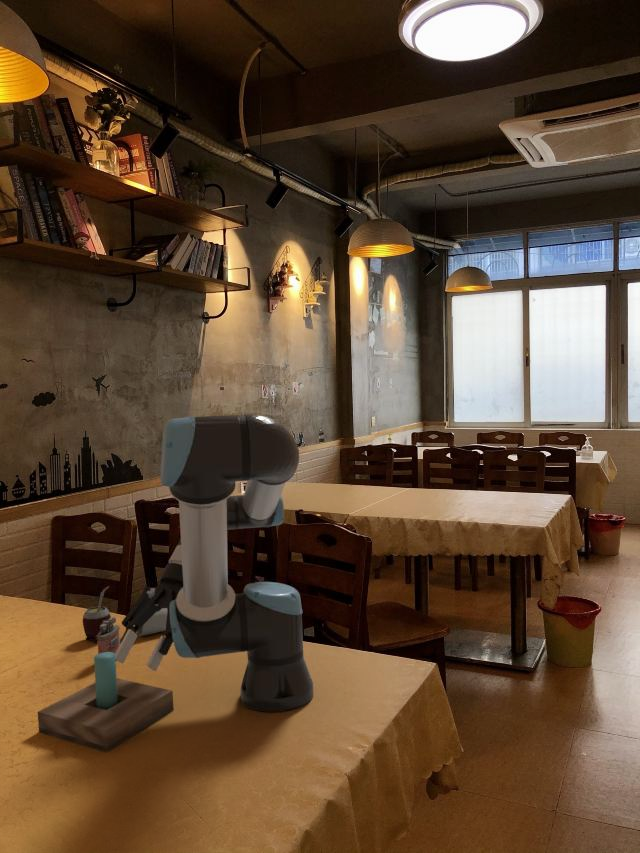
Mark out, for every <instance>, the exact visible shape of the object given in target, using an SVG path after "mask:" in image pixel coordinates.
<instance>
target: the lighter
mask: <svg viewBox="0 0 640 853" xmlns="http://www.w3.org/2000/svg"><path fill="white" fill-rule="evenodd" d="M116 618H117V617H116V616H111V618H110V619H108V621H103V623H102V625H100V630H101V632H99V633H98V634H97V639H98V643H97V651H98V653H97V654H100V653H104V652H113V653H116V651H117V650H118V648H119V646H120V628H121V627H120V625H118V624H115V623H117V619H116ZM116 662H118V660H116Z"/></svg>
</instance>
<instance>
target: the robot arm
mask: <svg viewBox="0 0 640 853" xmlns="http://www.w3.org/2000/svg"><path fill="white" fill-rule="evenodd" d="M161 442H162V443H161V459H160V483H161V485H162V487H167V488H169V492H170V494H171V496H172V497H173V498H174V499H175V500H177V501H178V509H179V510H178V511H179V528H180V530H179V531H180V540H179V542H178V543H177V545H176V547H175V549H174V551H173V552H172V555H171V556H170V558H169V559H168V563H167V564H166V566H165V567H164V569H163V571H162V573H161V575H160V580H159V581H160V582H159V583H158V585H157V586H156V587H150V586H149V585H146V586H144V589H143V591H142V593H141V595H140V597H139V598H138V599H137V600H136V602H135V603H134V605H133V606H132V607H131V609H130V610H129V612H128V613H127V614H126V615H125V617H124V618H123V620H122V621H121V625H122V626H124V628H125V631H124V632H123V635H122V637H121V638H120V639H119V642H120V646H119V648H118V650H117V651H116V653H115V657H116V660H117V662H118V663H119V664H124V663H125V660H126V658H127V657H128V655H129V653H130V651H131V649H132V647H133V645H134V643H135V641H136V640H137V638H138V636H139V635H138V633H137V631H138V630H139V629H140V628H141V627H142V626H143V625H144V624H145V623H146V622H147V621H148V620H149V619H150V618H151V617H152V616H153V615H154V614H155V613H156V612H158V611H160V610H161V609H162V608H163V609H164V608H167V609H168V611H167V621H166V631H164V632H162V633H163V635H160V637H159V639H158V641H157V643H156V645H155V647H154V649H153V651H152V653H151V655H150V656H149V659H148V661H147V662H146V667H148V668H149V669H151V670H152V671H154V672H157V670H158V667H159V666H160V664H161V663H162V660H163V658H164V656H166V655H167V654H168V652H169V651H170V649H171V647H172V645H174V649H175V652H176V653H177V655H178V656H179V657H180V658H183V659H192V658H193V659H194V658H195V659H200V658H203V657H204V658H205V657H212V656H219V655H227V654H237V653H242V652H243V653H245V652H246V653H247V664H246V667H245V670H244V674H243V678H242V682H241V685H240V700H241V702H242V704H243V705H244V706H246V707H247V708H249V709H252V710H254V711H259V712H268V713H269V712H270V713H276V712H285V711H290V710H294V709H297V708H300V707H302V706H304V705H306V704H308V703H309V702H310V701H311V700H312V699H313V697H314V682H313V679H312V677H311V674H310V671H309V668H308V666H307V663H306V661H305V657H304V641H303V640H304V639H303V619H302V618H303V615H302V614H303V609H302V608H303V607H302V602H301V601H302V600H301V599H302V598H301V595H300V592H299V591H298V590H297V589H296V588H295V587H293V586H291V585H288V584H285V583H280V582H273V581H257V582H251V583H247V584H246V585H245V586H244V589H243V592H241V593H235V591H234V589H233V587H232V586H231V585H230V584H228V582H229V581H228V580H229V579H228V530H239V529H252V528H253V529H254V528H270V527H275V526H280V525H282V524H283V522H284V517H285V506H284V499H283V496H282V493H283V491H284V487H285V485H286V483H287V482H289V481H290V480H291V479H292V478H293V477H294V475H295V474H296V471H297V469H298V467H299V463H300V450H299V446H298V443H297V441H296V439H295V437H294V436H293V435H292V434H291V433H290V431H289V430H288V429H287V428H286V427H285V426H284V425H283V424H281V423H280V422H278V421H276V420H275V419H273V418H271V417H268V416H264V415H262V414H256V413H245V414H228V415H226V414H224V415H211V416H210V415H209V416H207V415H206V416H193V415H189V416H187V417H178V418H177V417H175V418H171V419H169V420H168V421H167V422H165V425H164V428H163V434H162V441H161ZM236 482H246V484H245V489H244V492H243V493H244V494H240V495H233V494H234V492H235V489H236Z"/></svg>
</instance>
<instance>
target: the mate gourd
mask: <svg viewBox="0 0 640 853" xmlns="http://www.w3.org/2000/svg"><path fill="white" fill-rule="evenodd" d="M109 588H110V586H109V585H108V586H107V587H105V588H104V589H102V591H101V592H100V595H99V602H98V606H93V607H89V608H87V609H86V610H85V612H84V613H83V615H82V616H83V617H82V626H83V631H84V633H85V641H86V640H87V641H93V644H98V643H97V642H98V639H97V634H98V633H99V632H101V630H100V625H102V623H103V621H108V619H110V618H111V617H112V616H111V613H110V611H109V609H108V608H107V607H106V606H102V601H103V598H104V595H105V592H106V591H107V590H108V589H109ZM93 639H95V640H93Z"/></svg>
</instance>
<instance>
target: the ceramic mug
mask: <svg viewBox="0 0 640 853" xmlns="http://www.w3.org/2000/svg"><path fill="white" fill-rule="evenodd" d="M167 611H168V609H167V608H164V609H163V608H162V609H161V610H160V611H158V612H156V613H155V614H154V615H153V616H152V617H151V618H150V619H149V620H148V621H147V622H146V623H145V624H144V625H143V626H142V627H141V628H140V629H139V630H138V631H137V632H136V633H137V635H138V636H139V637H143V636H148V635H149V636H150V635H153V634H158V632H159V633H164V632H165V631H166V621H167Z"/></svg>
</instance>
